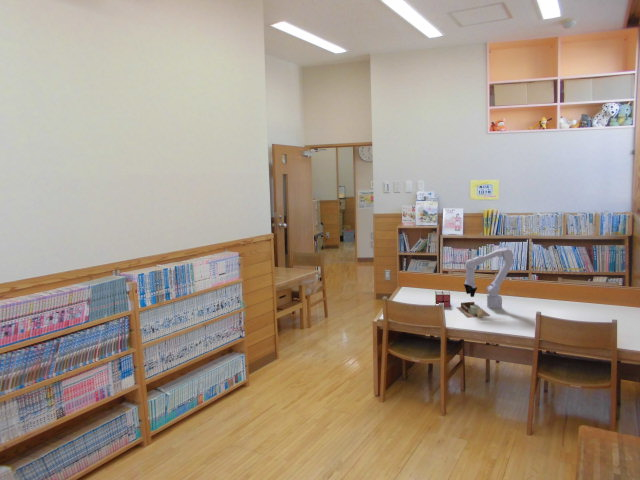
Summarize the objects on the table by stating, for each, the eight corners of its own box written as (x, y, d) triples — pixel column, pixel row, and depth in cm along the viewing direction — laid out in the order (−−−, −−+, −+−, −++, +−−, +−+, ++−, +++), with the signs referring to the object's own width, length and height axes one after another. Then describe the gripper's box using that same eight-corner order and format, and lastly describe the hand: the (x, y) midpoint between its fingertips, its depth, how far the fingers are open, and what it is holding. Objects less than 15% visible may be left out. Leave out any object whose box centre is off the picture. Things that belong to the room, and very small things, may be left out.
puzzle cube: (450, 308, 334) (450, 294, 332) (436, 307, 336) (435, 294, 334) (449, 303, 343) (449, 290, 342) (435, 303, 346) (435, 290, 344)
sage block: (477, 311, 320) (477, 303, 319) (484, 317, 309) (484, 309, 308) (470, 312, 320) (470, 304, 319) (476, 318, 308) (476, 310, 308)
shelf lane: (477, 306, 333) (477, 301, 332) (490, 317, 311) (490, 310, 311) (455, 308, 332) (455, 302, 331) (467, 318, 310) (467, 312, 310)
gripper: (460, 274, 334) (461, 292, 337) (468, 279, 320) (468, 298, 323) (470, 273, 335) (470, 292, 337) (478, 279, 321) (478, 297, 323)
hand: (470, 295), depth 330 cm, fingers open, 7 cm apart
